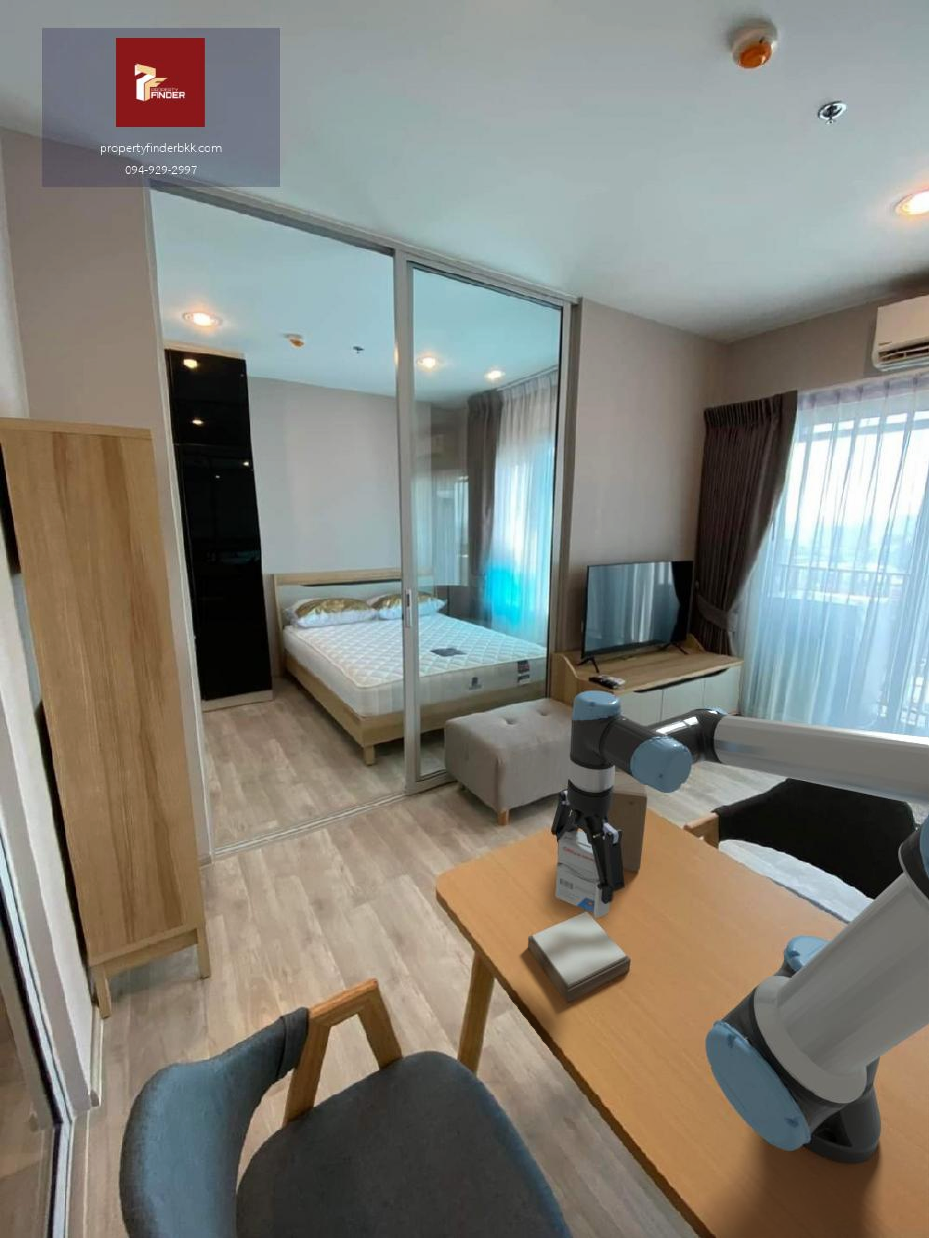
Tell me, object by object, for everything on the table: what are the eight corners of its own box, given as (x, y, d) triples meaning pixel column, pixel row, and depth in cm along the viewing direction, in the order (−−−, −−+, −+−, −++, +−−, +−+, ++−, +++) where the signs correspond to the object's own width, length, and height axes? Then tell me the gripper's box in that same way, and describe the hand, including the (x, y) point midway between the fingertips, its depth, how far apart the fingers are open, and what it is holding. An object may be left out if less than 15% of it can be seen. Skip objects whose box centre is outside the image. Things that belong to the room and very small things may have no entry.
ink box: (609, 899, 89) (614, 842, 86) (601, 918, 84) (606, 858, 82) (564, 880, 93) (568, 825, 90) (554, 896, 89) (557, 840, 86)
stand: (629, 970, 89) (630, 956, 89) (567, 1003, 83) (568, 988, 83) (586, 921, 100) (586, 908, 99) (527, 947, 94) (528, 934, 93)
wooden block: (640, 874, 113) (648, 796, 108) (595, 867, 115) (601, 790, 110) (634, 845, 122) (642, 772, 118) (593, 840, 124) (598, 768, 120)
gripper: (657, 811, 75) (644, 932, 80) (567, 748, 95) (561, 849, 100) (620, 824, 72) (608, 950, 77) (535, 756, 91) (530, 860, 96)
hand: (582, 893), depth 88 cm, fingers closed on ink box, 9 cm apart
